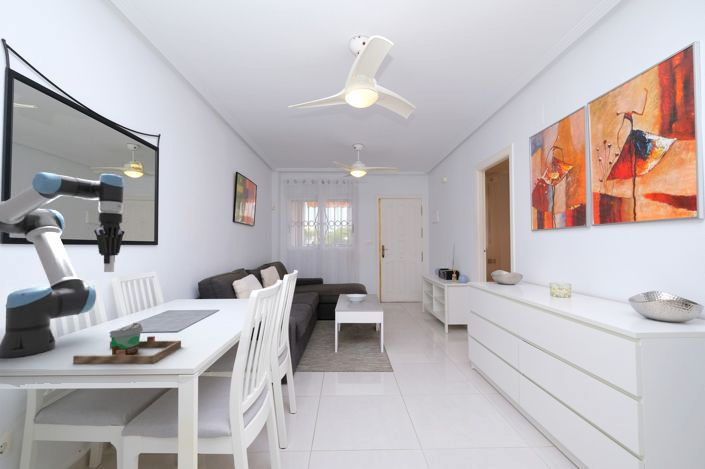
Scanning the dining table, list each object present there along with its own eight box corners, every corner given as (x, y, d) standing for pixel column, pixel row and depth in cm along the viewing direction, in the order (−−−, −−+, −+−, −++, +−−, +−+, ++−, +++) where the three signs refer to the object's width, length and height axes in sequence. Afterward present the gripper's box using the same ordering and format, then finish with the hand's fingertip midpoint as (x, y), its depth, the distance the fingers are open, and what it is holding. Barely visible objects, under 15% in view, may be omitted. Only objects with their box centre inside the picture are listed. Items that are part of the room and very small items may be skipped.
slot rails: (73, 363, 104) (73, 351, 104) (111, 347, 121) (112, 336, 121) (153, 363, 104) (153, 350, 104) (181, 346, 121) (181, 336, 121)
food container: (126, 360, 107) (127, 331, 107) (109, 360, 106) (109, 331, 107) (149, 348, 119) (150, 322, 119) (133, 348, 119) (134, 322, 119)
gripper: (107, 211, 117) (105, 273, 116) (131, 214, 130) (130, 270, 129) (87, 211, 117) (85, 273, 116) (113, 214, 130) (112, 270, 129)
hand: (108, 271), depth 123 cm, fingers closed
